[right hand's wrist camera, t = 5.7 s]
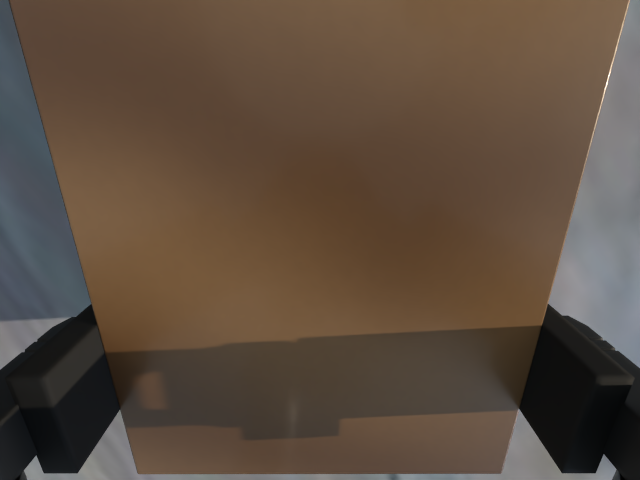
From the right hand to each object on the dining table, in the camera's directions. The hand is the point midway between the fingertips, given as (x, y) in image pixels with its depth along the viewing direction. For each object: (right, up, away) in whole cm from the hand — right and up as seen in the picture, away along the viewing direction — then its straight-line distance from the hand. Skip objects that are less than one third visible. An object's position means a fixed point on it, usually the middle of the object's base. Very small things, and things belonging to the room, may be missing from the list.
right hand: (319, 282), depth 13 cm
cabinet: (0, +8, +3) cm, 8 cm away
